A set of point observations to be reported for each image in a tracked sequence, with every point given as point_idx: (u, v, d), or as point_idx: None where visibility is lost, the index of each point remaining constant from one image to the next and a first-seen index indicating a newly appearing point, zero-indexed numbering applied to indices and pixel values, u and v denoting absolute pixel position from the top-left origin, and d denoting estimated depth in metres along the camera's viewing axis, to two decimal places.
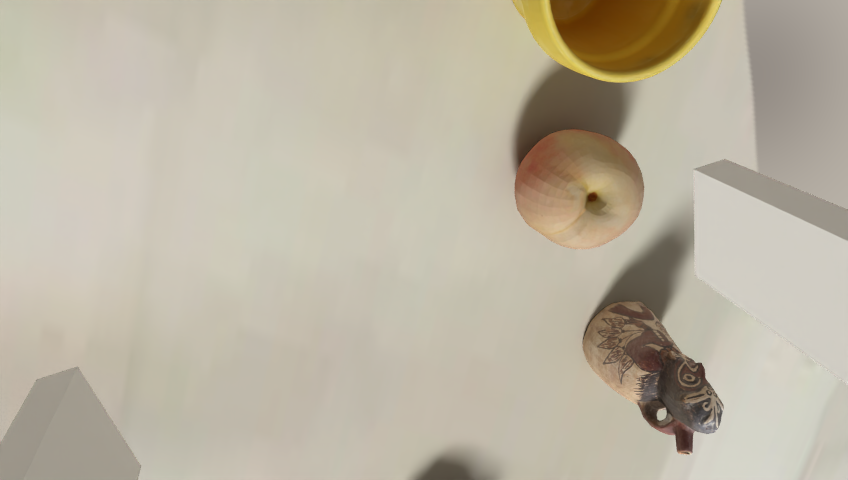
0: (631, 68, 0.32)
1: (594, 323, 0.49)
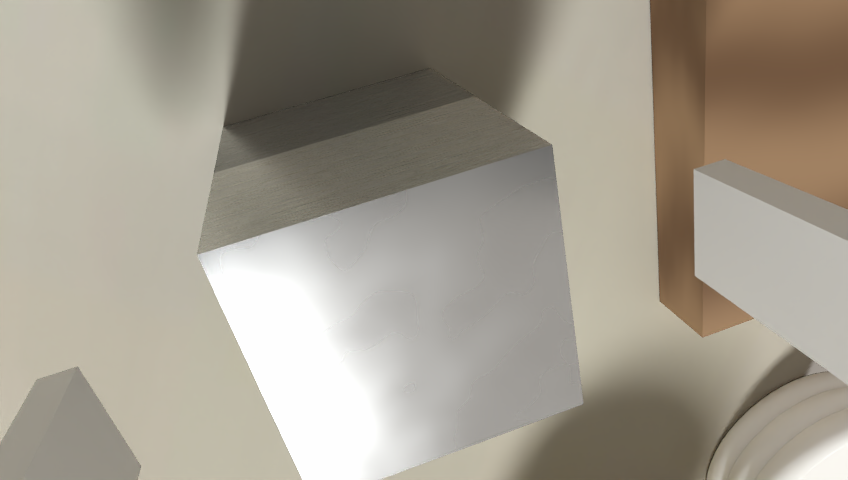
0: None
1: None
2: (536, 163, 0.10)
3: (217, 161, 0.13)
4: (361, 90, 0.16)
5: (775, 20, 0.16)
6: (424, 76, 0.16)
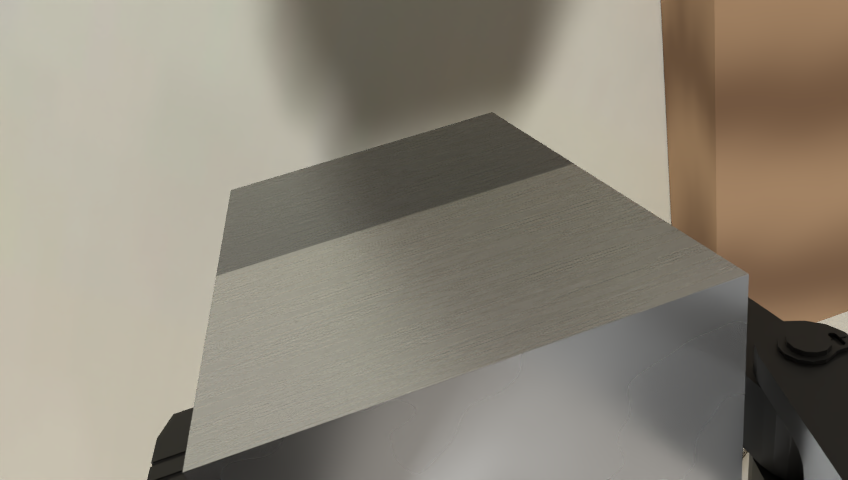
0: None
1: None
2: (721, 302, 0.06)
3: (221, 253, 0.10)
4: (407, 143, 0.13)
5: (781, 53, 0.17)
6: (488, 125, 0.12)
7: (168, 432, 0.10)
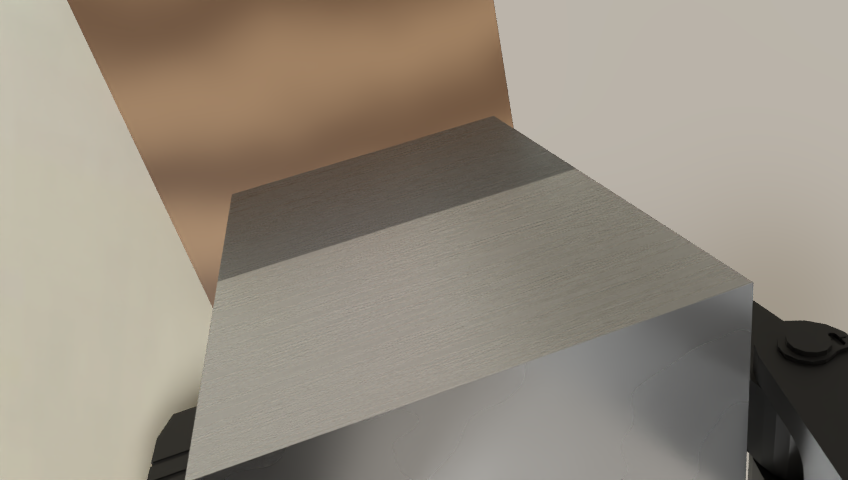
0: None
1: None
2: (725, 310, 0.06)
3: (223, 258, 0.10)
4: (408, 147, 0.13)
5: (194, 144, 0.25)
6: (490, 129, 0.12)
7: (168, 432, 0.10)
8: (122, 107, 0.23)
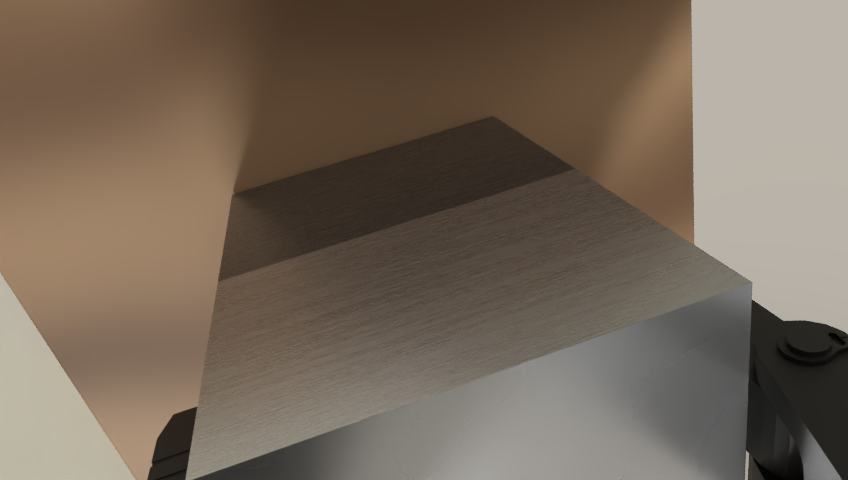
0: None
1: None
2: (724, 310, 0.06)
3: (223, 258, 0.10)
4: (408, 147, 0.13)
5: (137, 300, 0.13)
6: (490, 129, 0.12)
7: (168, 432, 0.10)
8: None
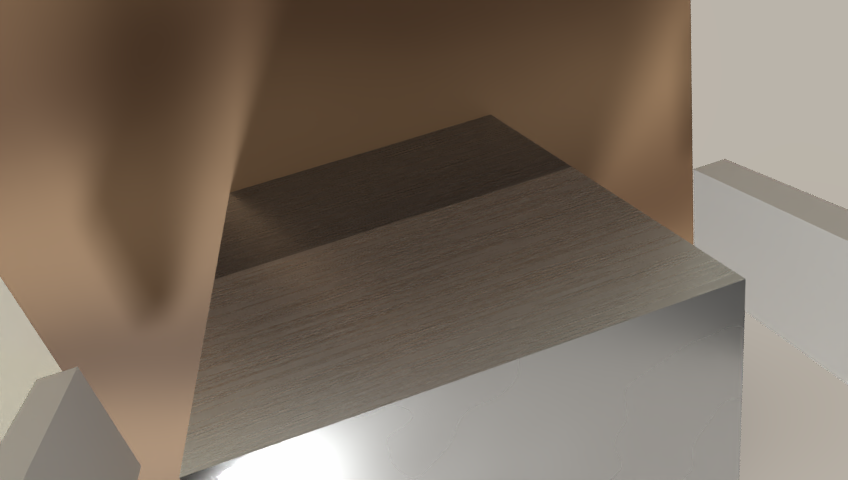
0: None
1: None
2: (718, 306, 0.06)
3: (219, 256, 0.10)
4: (405, 145, 0.13)
5: (135, 300, 0.13)
6: (487, 128, 0.12)
7: None
8: None
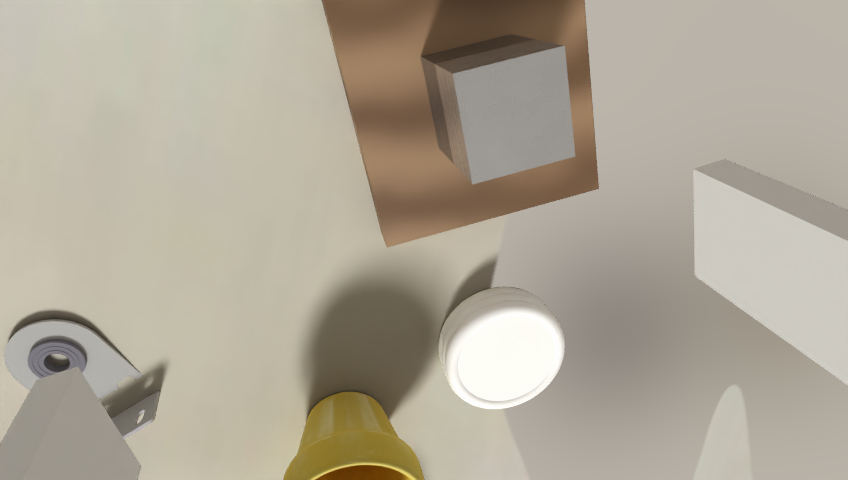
0: None
1: None
2: (559, 51, 0.30)
3: (432, 62, 0.34)
4: (481, 42, 0.36)
5: (383, 95, 0.37)
6: (510, 36, 0.36)
7: None
8: (343, 67, 0.36)
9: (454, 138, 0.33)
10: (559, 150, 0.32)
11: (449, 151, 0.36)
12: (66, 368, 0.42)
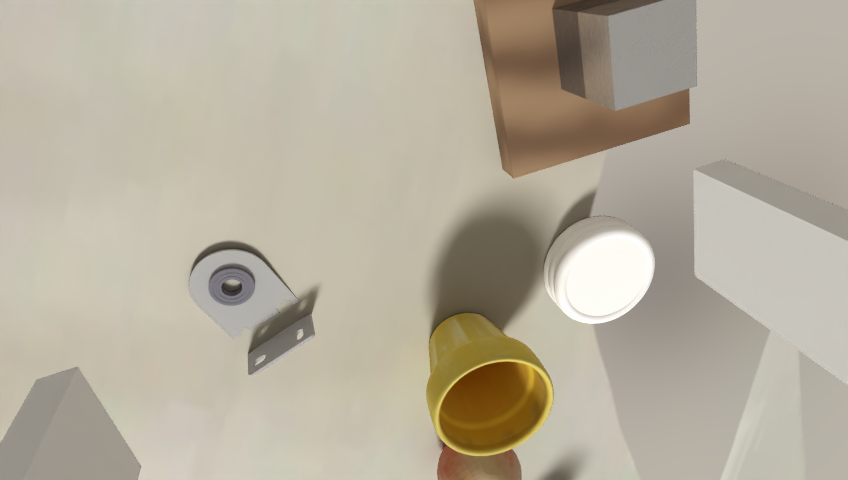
0: (497, 443, 0.51)
1: None
2: None
3: (572, 11, 0.40)
4: None
5: (519, 43, 0.43)
6: None
7: None
8: (489, 19, 0.42)
9: (594, 74, 0.40)
10: (685, 80, 0.39)
11: (581, 88, 0.42)
12: (238, 293, 0.48)
